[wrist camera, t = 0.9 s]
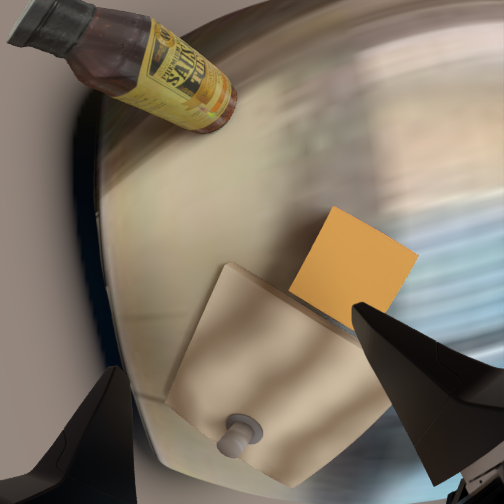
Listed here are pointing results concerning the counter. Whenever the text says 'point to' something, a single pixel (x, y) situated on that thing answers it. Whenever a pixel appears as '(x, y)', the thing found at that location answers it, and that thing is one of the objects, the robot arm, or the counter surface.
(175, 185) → the counter surface
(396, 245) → the amber foam cube
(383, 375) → the robot arm
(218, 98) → the sauce bottle
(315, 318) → the birch board
